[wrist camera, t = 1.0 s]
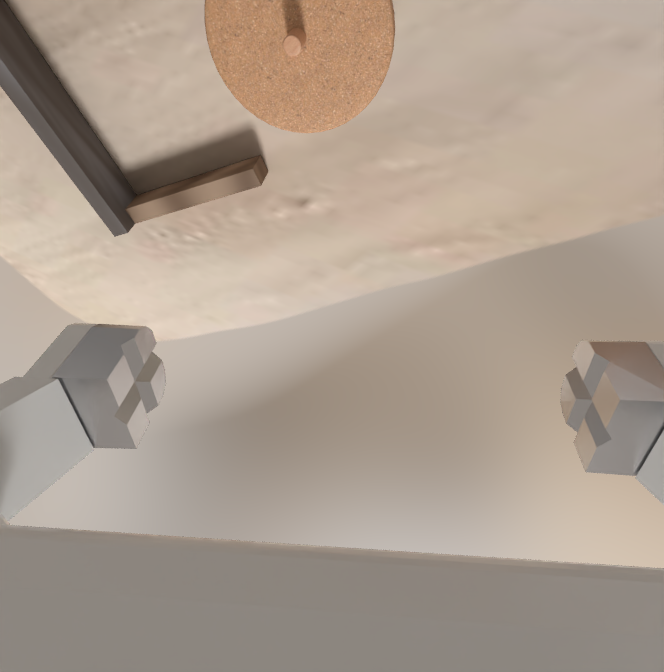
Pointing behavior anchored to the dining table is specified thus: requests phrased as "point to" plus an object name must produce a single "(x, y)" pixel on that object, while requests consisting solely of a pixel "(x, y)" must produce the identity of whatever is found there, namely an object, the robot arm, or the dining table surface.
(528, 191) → the dining table surface
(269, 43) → the lidded jar
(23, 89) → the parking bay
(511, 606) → the robot arm
